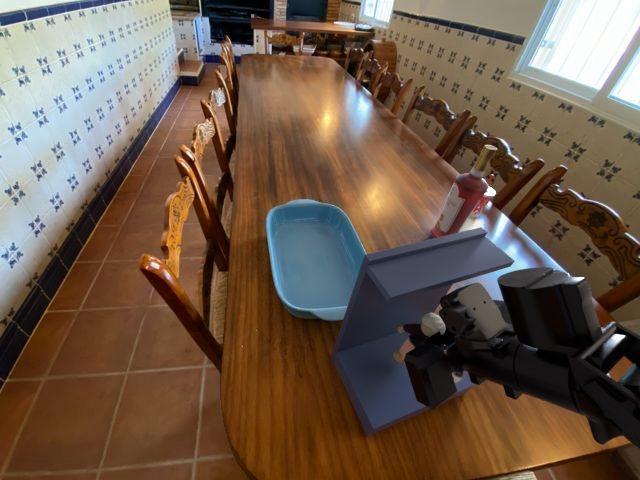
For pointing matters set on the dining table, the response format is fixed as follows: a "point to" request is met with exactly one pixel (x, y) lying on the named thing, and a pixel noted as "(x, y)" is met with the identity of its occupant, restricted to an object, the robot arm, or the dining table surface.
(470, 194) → the liquor
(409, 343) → the grandmother figurine
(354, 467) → the dining table surface
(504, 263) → the stand
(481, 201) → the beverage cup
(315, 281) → the casserole dish
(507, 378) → the robot arm
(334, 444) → the dining table surface
